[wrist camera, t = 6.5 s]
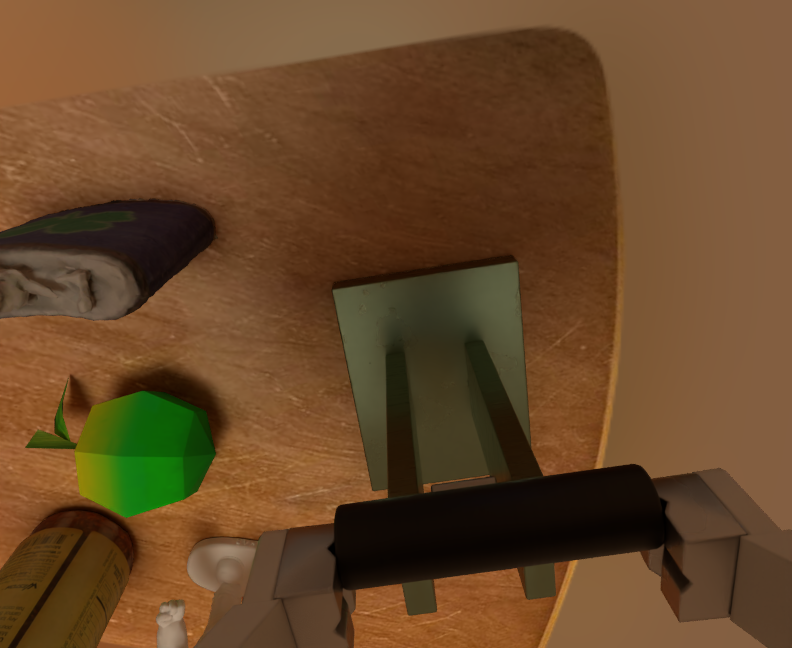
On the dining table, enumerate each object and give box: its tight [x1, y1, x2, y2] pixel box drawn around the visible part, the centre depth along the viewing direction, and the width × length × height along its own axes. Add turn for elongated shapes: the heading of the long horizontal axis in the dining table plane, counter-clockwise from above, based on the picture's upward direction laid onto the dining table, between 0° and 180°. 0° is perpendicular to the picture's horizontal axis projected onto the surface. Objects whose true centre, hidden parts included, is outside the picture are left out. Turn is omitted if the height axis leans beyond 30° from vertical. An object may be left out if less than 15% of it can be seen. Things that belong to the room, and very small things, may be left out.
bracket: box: [332, 255, 556, 615], centre depth 24 cm, size 12×9×13 cm
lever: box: [334, 464, 665, 591], centre depth 15 cm, size 12×6×2 cm
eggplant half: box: [0, 199, 218, 321], centre depth 21 cm, size 9×3×11 cm, turn 95°
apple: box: [25, 378, 216, 518], centre depth 27 cm, size 7×6×9 cm
